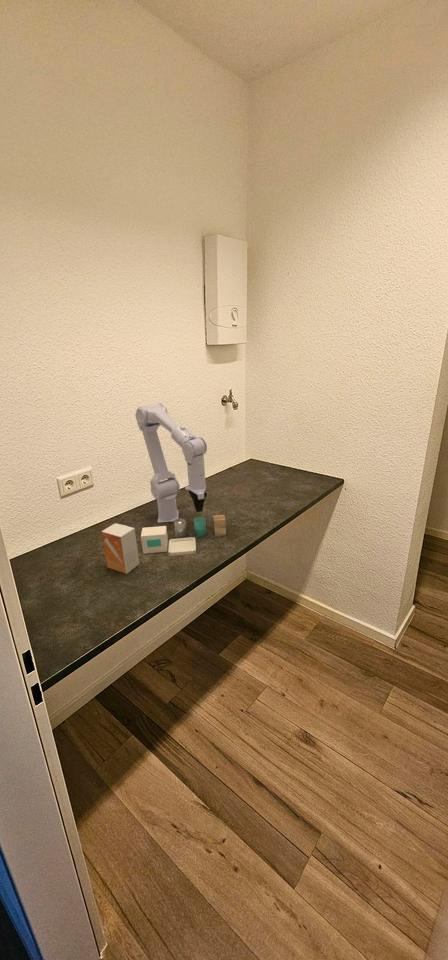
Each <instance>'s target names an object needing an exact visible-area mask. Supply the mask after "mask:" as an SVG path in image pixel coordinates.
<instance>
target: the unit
mask: <svg viewBox="0 0 448 960" xmlns="http://www.w3.org/2000/svg"><path fill="white" fill-rule="evenodd" d="M140 539H141V540H140V541H141V548H142V554H156V553H168V550H169V539H168V530H167V525H162V526H161V525H159V526H152V527H151V526H147V527H142V530H141V534H140Z"/></svg>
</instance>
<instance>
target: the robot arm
mask: <svg viewBox="0 0 448 960" xmlns="http://www.w3.org/2000/svg"><path fill="white" fill-rule="evenodd" d="M135 419H136V423H137V426H138V428H139V429H138V430H139V431H140V432H142V433H141V434H142V436H143V438H144V442H145V445H146V448H147V452H148V455H149V459H150V462H151V465H152V466H151V467H152V469H153V470H152V471H153V472H154V473H153V476H152V478H151V479H150V481H149V483H150V492H151V495H152V497H153V498H154V499H155V500H156V503H157V510H158V513H157V514H158V516H157V523H158V524H160V523H174V520H176V519H179V518H180V516H179V513H180V511H179V509H178V506H177V498H176V497H178V493H179V492H180V489H181V487H180V483H179V481H178V479H177V477H176V475H175V473H174V472H170V471H169V469H168V466H167V462H166V459H165V456H164V453H163V449H162V445H161V441H160V437H159V435H158V428H159V427H160V426H162V427H163V428H164V429H166V430H167V431H168V432H169V433H171V434H170V436H171V437H170V438H171V439H172V440H173V441H174V442H175V443H176V444H177V445H178V446H179V447H180V448H181V450H182V454H183V455H184V461H185V463H186V466H187V479H188V480H187V481H188V485H187V486H184V487H185V491H188V494H189V496H190V498H191V499H192V502H193V503H192V504H193V507H194V510H195V511H196V512H195V513H198V512H199V513H200V512H203V510H204V505H205V500H206V498H207V495H208V493H207V492H206V489H207V484H206V472H205V456H204V455H205V454H206V453H207V451H208V446H207V442H206V441H205V439H204V438H203V437H201V436H199V437H198V436H195V435H194V434H193V433H192V432H191V431H190V430H189V429H188V428H186V426H185V425H178V424H177V423H176V421H174V419H173V418H172V417H171V416H170V415H169V414H168V409H167V407H166V406H165V405H164V404H163V403H162V402H161V403H160V402H159V403H155V404H149V405H145V406H138V407H137V408H136V411H135Z"/></svg>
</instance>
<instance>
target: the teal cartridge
mask: <svg viewBox="0 0 448 960" xmlns="http://www.w3.org/2000/svg"><path fill="white" fill-rule="evenodd" d="M193 523H194V537H197V538H203V537H205V536H206V535H207V526H206V525H207V524H206V518H205V517H203V516H197V517H195V518H194V519H193Z"/></svg>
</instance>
